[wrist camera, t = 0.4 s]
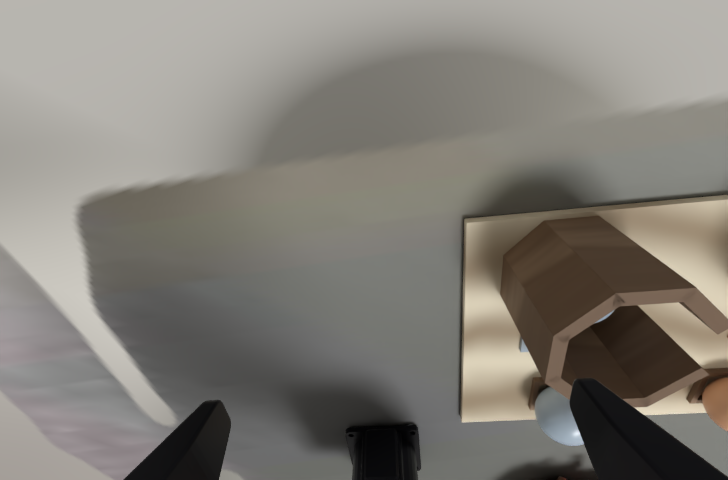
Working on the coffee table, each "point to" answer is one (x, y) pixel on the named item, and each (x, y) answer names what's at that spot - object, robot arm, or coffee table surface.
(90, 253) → the coffee table surface
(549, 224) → the cream wooden tray
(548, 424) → the slate-blue ball
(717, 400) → the terracotta ball
